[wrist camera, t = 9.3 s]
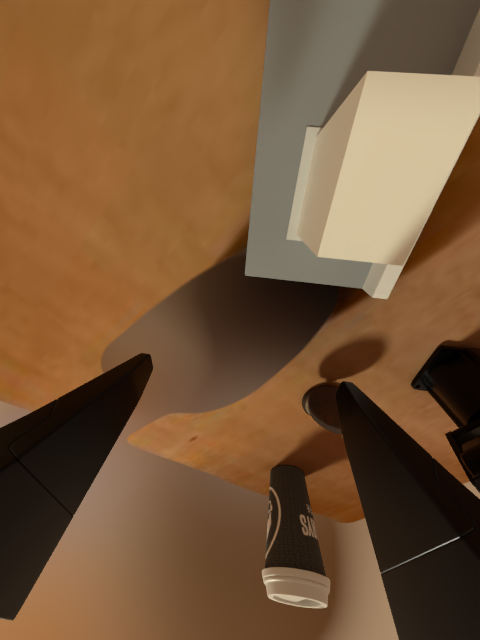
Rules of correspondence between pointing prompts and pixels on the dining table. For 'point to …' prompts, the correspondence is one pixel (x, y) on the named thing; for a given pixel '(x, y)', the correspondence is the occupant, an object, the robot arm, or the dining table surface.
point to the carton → (385, 164)
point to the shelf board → (324, 100)
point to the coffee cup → (293, 544)
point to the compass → (323, 407)
